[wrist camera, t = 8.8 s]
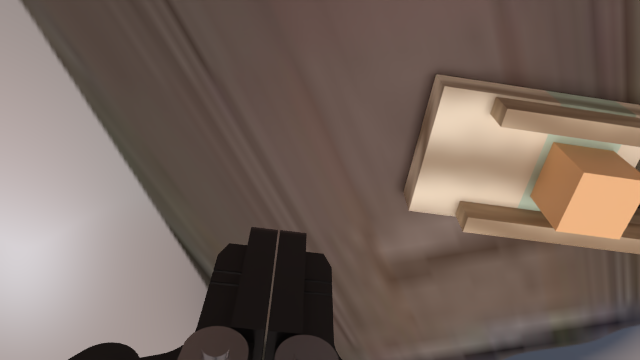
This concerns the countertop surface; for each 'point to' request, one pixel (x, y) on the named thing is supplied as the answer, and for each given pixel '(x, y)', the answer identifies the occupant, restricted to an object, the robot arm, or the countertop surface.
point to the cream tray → (511, 156)
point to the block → (587, 191)
